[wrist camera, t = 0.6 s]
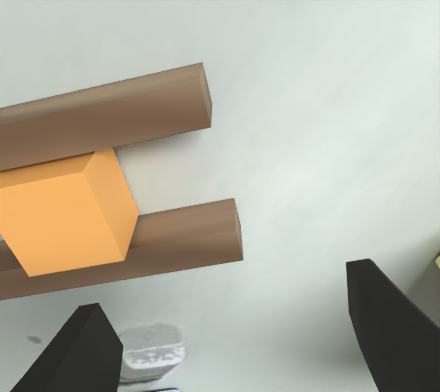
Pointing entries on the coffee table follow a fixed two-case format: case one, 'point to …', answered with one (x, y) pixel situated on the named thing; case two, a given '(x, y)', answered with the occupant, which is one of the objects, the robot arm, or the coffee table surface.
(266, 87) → the coffee table surface
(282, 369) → the coffee table surface
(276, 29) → the coffee table surface
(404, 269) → the coffee table surface
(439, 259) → the candy box
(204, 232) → the walnut chute
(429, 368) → the robot arm
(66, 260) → the block
